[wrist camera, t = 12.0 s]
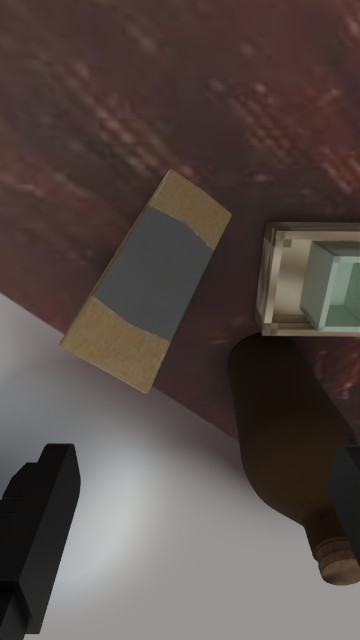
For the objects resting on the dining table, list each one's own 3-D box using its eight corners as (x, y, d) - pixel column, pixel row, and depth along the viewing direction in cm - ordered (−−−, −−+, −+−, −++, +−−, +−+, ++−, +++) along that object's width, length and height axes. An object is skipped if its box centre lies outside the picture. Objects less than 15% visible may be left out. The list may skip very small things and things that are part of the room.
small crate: (311, 241, 37) (334, 256, 31) (361, 241, 37) (393, 256, 31) (298, 307, 40) (317, 331, 35) (344, 308, 40) (370, 332, 35)
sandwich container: (235, 214, 36) (268, 251, 23) (158, 318, 42) (148, 397, 28) (169, 164, 34) (163, 173, 21) (97, 281, 40) (56, 347, 26)
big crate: (265, 221, 36) (276, 231, 32) (408, 223, 36) (437, 232, 32) (254, 317, 42) (262, 335, 37) (379, 318, 42) (400, 336, 38)
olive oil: (235, 320, 42) (300, 514, 20) (315, 336, 43) (463, 537, 21) (214, 387, 46) (246, 605, 24) (286, 399, 48) (380, 620, 25)
